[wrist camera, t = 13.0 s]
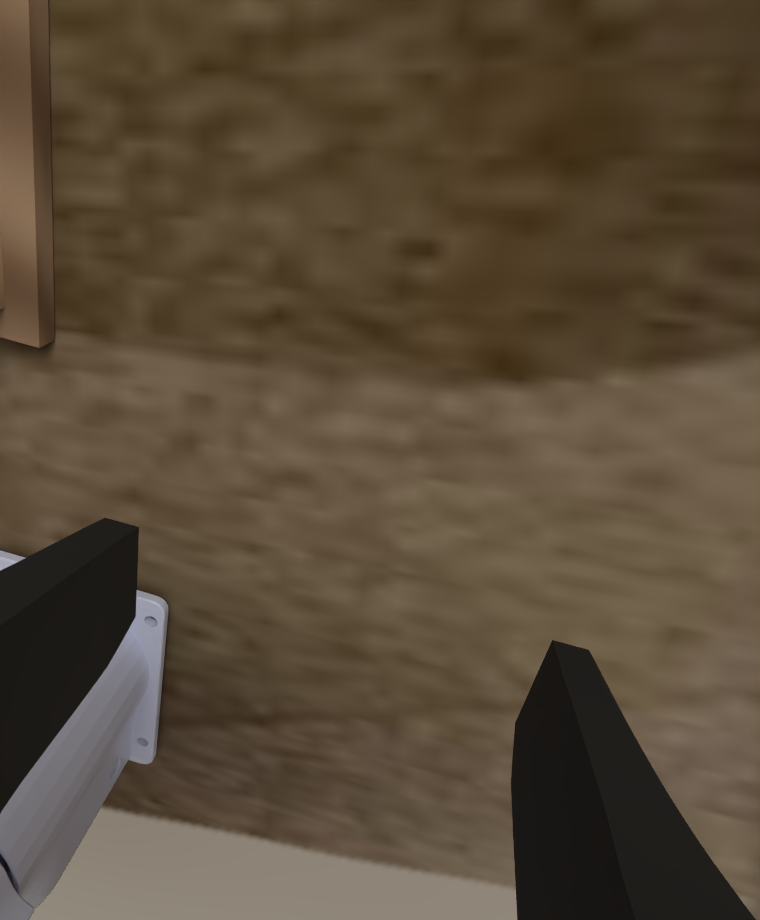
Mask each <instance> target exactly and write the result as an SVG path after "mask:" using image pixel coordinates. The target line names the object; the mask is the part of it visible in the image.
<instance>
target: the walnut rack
mask: <svg viewBox="0 0 760 920" xmlns="http://www.w3.org/2000/svg"><path fill="white" fill-rule="evenodd" d="M0 337H1V338H5V339H9V340H12V341H16V342H19V343H23V344H27V345H30V346H34V347H38V348H40V347H42V346H44V345H46V344H48V343H50V342H52V341H54V340H55V324H54V272H53V220H52V168H51V116H50V64H49V12H48V0H0Z"/></svg>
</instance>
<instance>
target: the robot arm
mask: <svg viewBox="0 0 760 920" xmlns="http://www.w3.org/2000/svg"><path fill="white" fill-rule="evenodd" d="M138 534H139V527H136V526H133V525H129V524H125V523H122V522H118V521H114V520H111V519H107V518H104V519H102V520H100V521H98V522H96V523H93V524H91V525H89V526H87V527H85V528H83V529H81V530H79V531H78V532H76V533H74V534H72V535H70V536H68V537H66V538H64V539H62V540H60V541H58V542H56V543H54V544H52V545H50V546H48V547H46V548H45V549H43V550H41V551H39V552H37V553H35V554H33V555H31V556H29V557H27V558H25V557H21V556H18V555H14V554H11V553H7V552H4V551H0V920H29V919H30V917H31V915H32V914H33V912H34V909H35V908H36V907H37V906H39V905H40V904H41V903H42V902H43V901H44V899H45V898H46V897H47V896H48V895H49V894H50V892H51V891H52V889H53V888H54V887H55V885H56V884H57V882H58V880H59V879H60V877H61V876H62V874H63V872H64V870H65V869H66V867H67V865H68V863H69V862H70V860H71V858H72V856H73V854H74V853H75V851H76V849H77V848H78V846H79V844H80V843H81V841H82V839H83V837H84V836H85V834H86V832H87V830H88V829H89V827H90V825H91V823H92V822H93V820H94V818H95V817H96V815H97V813H98V811H99V810H100V808H101V806H102V805H103V803H104V801H105V799H106V798H107V796H108V794H109V792H110V791H111V789H112V787H113V785H114V784H115V782H116V780H117V779H118V777H119V775H120V773H121V772H122V770H123V768H124V766H125V765H126V763H127V761H128V760H130V761H134V762H137V763H140V764H150V763H151V762H152V761H153V759H154V757H155V755H156V749H157V738H158V726H159V714H160V703H161V691H162V679H163V668H164V656H165V644H166V633H167V621H168V605H167V603H166V602H165V600H163V599H162V598H161V597H158V596H156V595H152V594H149V593H145V592H142V591H138V590H137V565H138ZM151 616H152V617H153V618H155V619H156V620H155V619H153V618H151ZM511 793H512V817H513V839H514V859H515V879H516V899H517V918H518V920H756V919H755V918H754V917H753V915H752V914H751V913H750V912H749V910H748V909H747V908H746V906H745V905H744V904H743V902H742V901H741V900H740V898H739V897H738V895H737V894H736V893H735V891H734V890H733V889H732V887H731V886H730V885H729V883H728V882H727V880H726V879H725V878H724V876H723V875H722V874H721V872H720V871H719V869H718V868H717V867H716V865H715V864H714V863H713V861H712V860H711V859H710V857H709V856H708V854H707V853H706V851H705V850H704V848H703V847H702V845H701V844H700V843H699V841H698V840H697V838H696V837H695V835H694V834H693V832H692V831H691V829H690V827H689V826H688V824H687V823H686V821H685V820H684V818H683V817H682V815H681V813H680V812H679V810H678V809H677V807H676V806H675V804H674V803H673V801H672V799H671V798H670V796H669V795H668V793H667V791H666V790H665V788H664V786H663V785H662V783H661V781H660V780H659V778H658V776H657V775H656V773H655V771H654V769H653V768H652V766H651V764H650V762H649V761H648V759H647V757H646V755H645V754H644V752H643V750H642V748H641V747H640V745H639V743H638V741H637V740H636V738H635V736H634V734H633V732H632V731H631V729H630V727H629V725H628V723H627V721H626V720H625V718H624V716H623V714H622V712H621V710H620V708H619V706H618V705H617V703H616V701H615V699H614V697H613V695H612V693H611V691H610V689H609V687H608V685H607V683H606V682H605V680H604V678H603V676H602V674H601V672H600V670H599V668H598V666H597V664H596V662H595V661H594V659H593V657H592V655H591V653H590V651H589V650H587V649H583V648H579V647H576V646H572V645H568V644H565V643H561V642H557V641H554V640H552V642H551V645H550V647H549V649H548V651H547V653H546V656H545V658H544V660H543V662H542V665H541V667H540V669H539V671H538V674H537V676H536V678H535V680H534V682H533V685H532V687H531V689H530V691H529V694H528V696H527V698H526V700H525V703H524V705H523V707H522V709H521V711H520V714H519V716H518V718H517V720H516V723H515V734H514V747H513V760H512V777H511Z"/></svg>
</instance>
